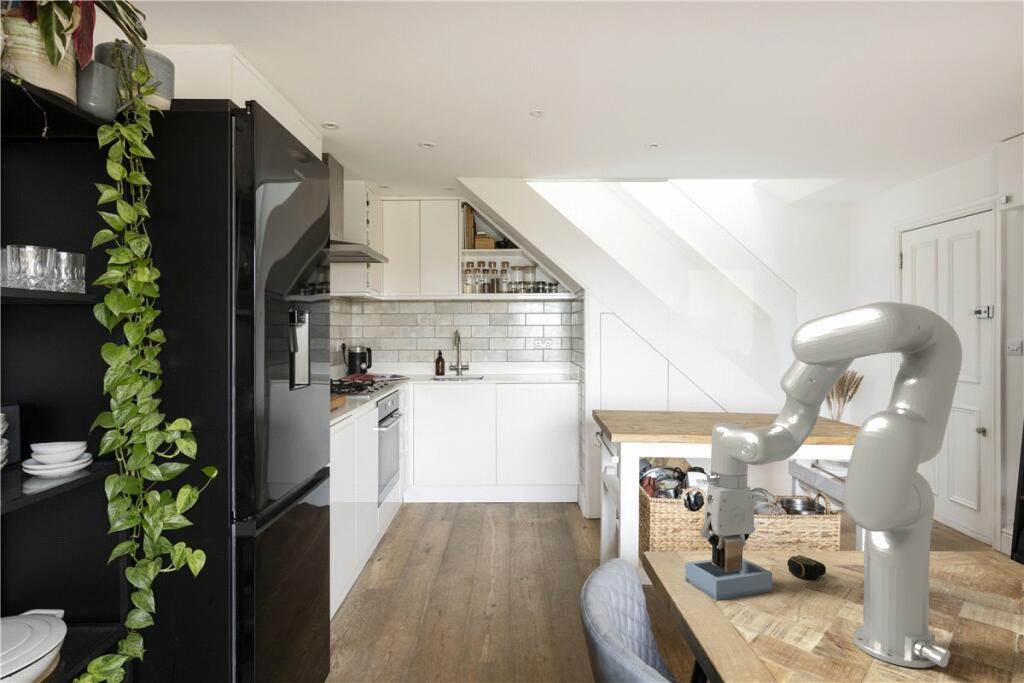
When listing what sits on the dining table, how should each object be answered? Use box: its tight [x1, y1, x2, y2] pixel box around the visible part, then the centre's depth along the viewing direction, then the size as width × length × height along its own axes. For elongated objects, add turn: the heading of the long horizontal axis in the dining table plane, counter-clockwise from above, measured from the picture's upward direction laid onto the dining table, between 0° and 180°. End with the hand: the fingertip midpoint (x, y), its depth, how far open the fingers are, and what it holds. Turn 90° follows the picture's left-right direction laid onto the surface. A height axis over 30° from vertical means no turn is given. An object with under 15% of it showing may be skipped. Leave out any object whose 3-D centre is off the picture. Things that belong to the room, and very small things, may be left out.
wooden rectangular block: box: [712, 535, 744, 572], centre depth 129 cm, size 5×4×7 cm
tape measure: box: [787, 554, 827, 580], centre depth 135 cm, size 7×7×4 cm
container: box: [685, 557, 773, 601], centre depth 128 cm, size 10×14×4 cm
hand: (727, 563), depth 129 cm, fingers closed on wooden rectangular block, 4 cm apart
